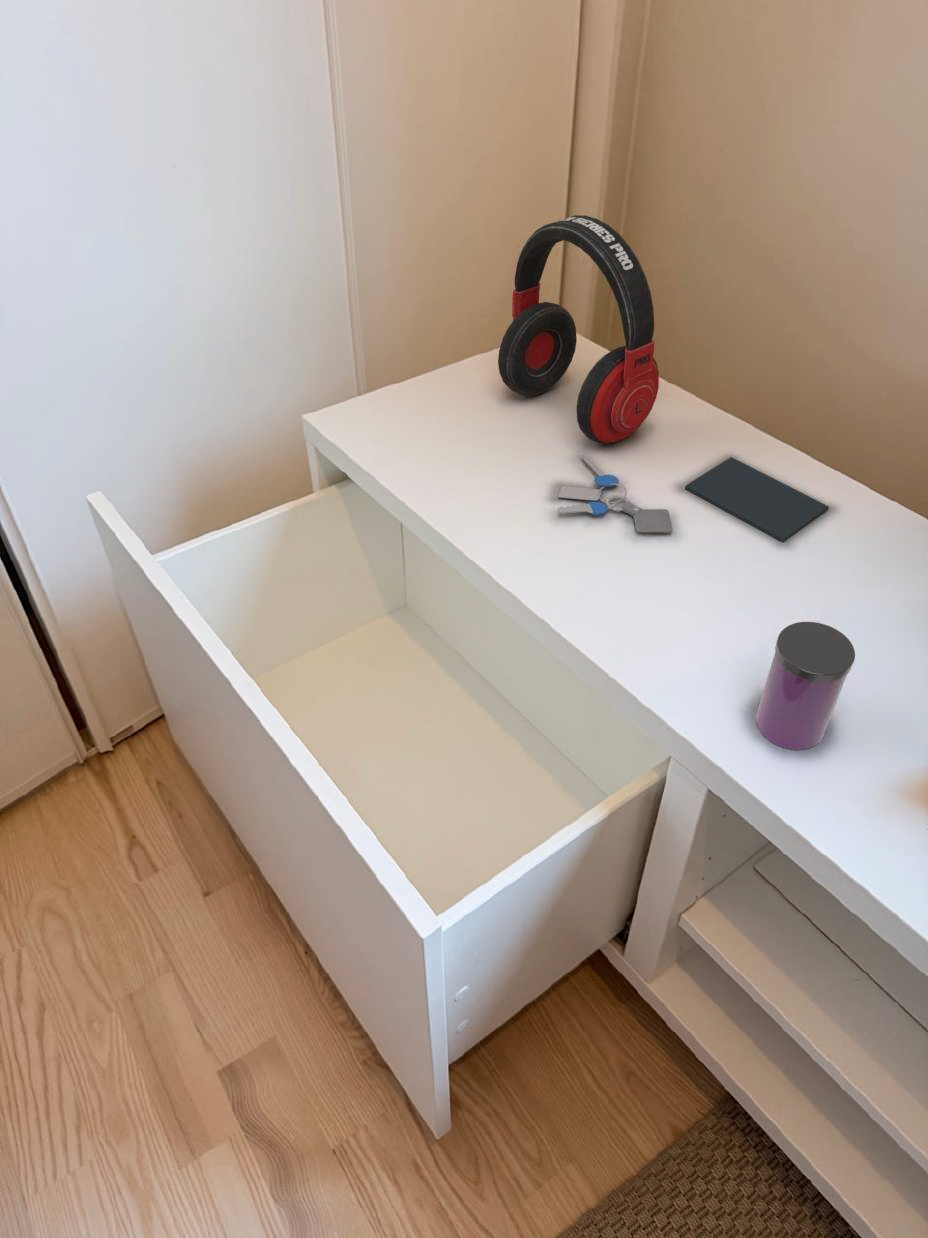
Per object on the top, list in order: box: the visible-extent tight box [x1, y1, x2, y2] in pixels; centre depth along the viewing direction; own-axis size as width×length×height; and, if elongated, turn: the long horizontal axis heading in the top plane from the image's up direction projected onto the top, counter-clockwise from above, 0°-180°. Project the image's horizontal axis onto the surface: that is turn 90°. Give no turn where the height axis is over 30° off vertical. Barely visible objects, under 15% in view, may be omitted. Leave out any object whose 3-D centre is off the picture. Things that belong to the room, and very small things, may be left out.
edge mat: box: [684, 456, 830, 543], centre depth 87 cm, size 11×7×1 cm, turn 41°
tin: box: [755, 621, 856, 751], centre depth 65 cm, size 5×5×8 cm
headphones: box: [497, 214, 660, 445], centre depth 92 cm, size 18×10×20 cm, turn 37°
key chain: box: [557, 453, 674, 533], centre depth 87 cm, size 14×8×1 cm, turn 36°
